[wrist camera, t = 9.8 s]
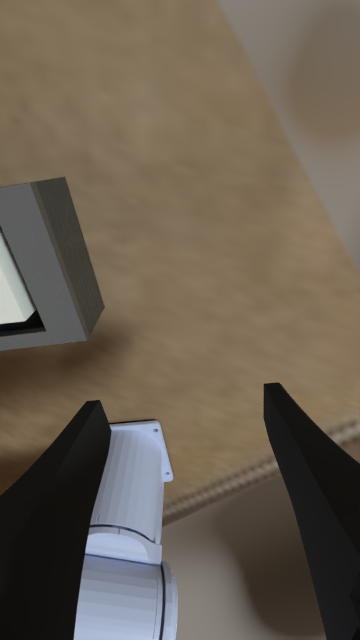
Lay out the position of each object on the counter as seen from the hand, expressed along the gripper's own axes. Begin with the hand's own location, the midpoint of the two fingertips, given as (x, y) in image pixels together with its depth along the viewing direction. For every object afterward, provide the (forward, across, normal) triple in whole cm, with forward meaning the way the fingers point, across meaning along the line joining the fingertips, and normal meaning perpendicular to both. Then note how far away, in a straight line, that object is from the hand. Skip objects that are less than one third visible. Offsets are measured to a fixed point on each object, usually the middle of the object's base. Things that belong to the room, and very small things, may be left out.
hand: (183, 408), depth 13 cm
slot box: (+10, +10, -5) cm, 15 cm away
